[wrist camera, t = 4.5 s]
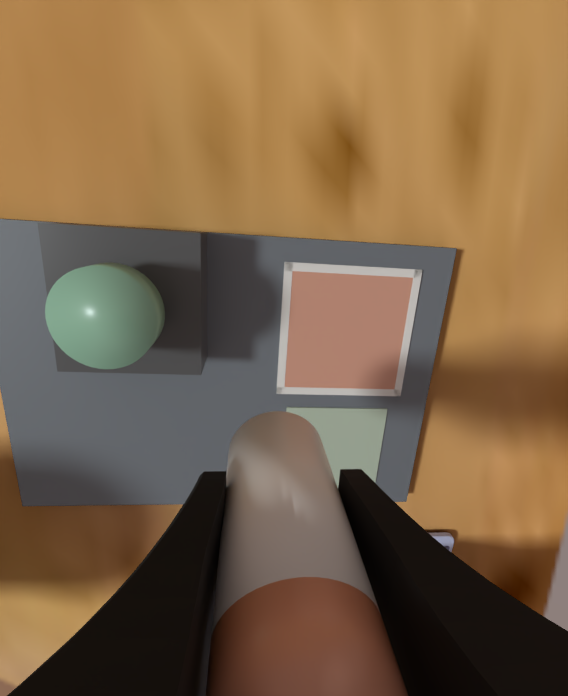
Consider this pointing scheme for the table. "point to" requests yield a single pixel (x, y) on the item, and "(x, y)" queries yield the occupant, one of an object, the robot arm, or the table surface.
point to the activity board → (230, 369)
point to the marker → (292, 576)
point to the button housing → (156, 264)
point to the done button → (105, 315)
